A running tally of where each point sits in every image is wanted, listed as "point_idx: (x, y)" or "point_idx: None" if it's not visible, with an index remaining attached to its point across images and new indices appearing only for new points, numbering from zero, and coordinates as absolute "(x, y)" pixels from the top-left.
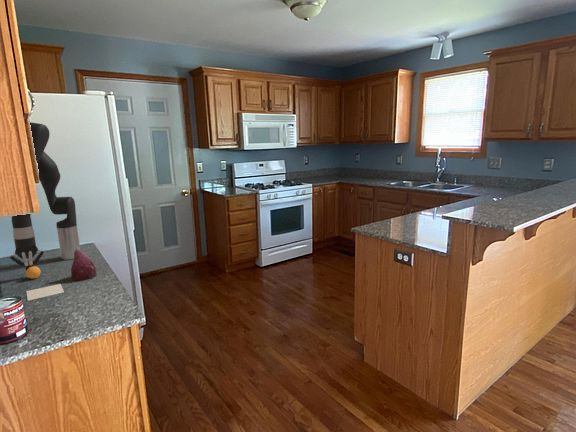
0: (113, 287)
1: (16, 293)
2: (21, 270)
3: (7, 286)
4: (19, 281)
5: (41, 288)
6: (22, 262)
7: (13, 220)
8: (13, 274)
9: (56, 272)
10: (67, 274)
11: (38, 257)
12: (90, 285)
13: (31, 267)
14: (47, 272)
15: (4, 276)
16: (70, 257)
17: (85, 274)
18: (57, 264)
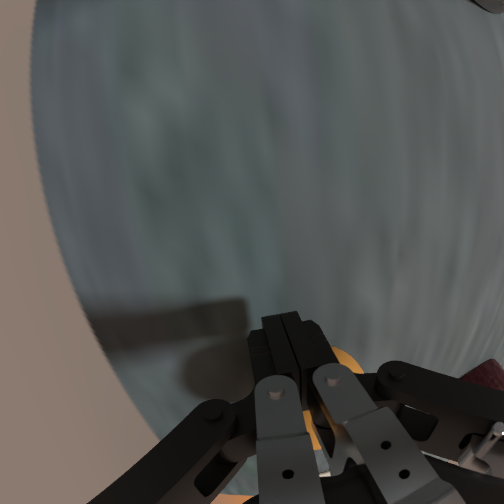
0: (444, 460)
1: (238, 486)
2: (150, 17)
3: (161, 425)
4: (205, 382)
5: (321, 476)
6: (237, 447)
7: None
8: (92, 130)
9: (433, 288)
10: (450, 354)
11: (437, 442)
12: (428, 455)
13: (319, 446)
14: (392, 251)
15: (38, 165)
16: (488, 2)
17: None
18: (439, 42)
